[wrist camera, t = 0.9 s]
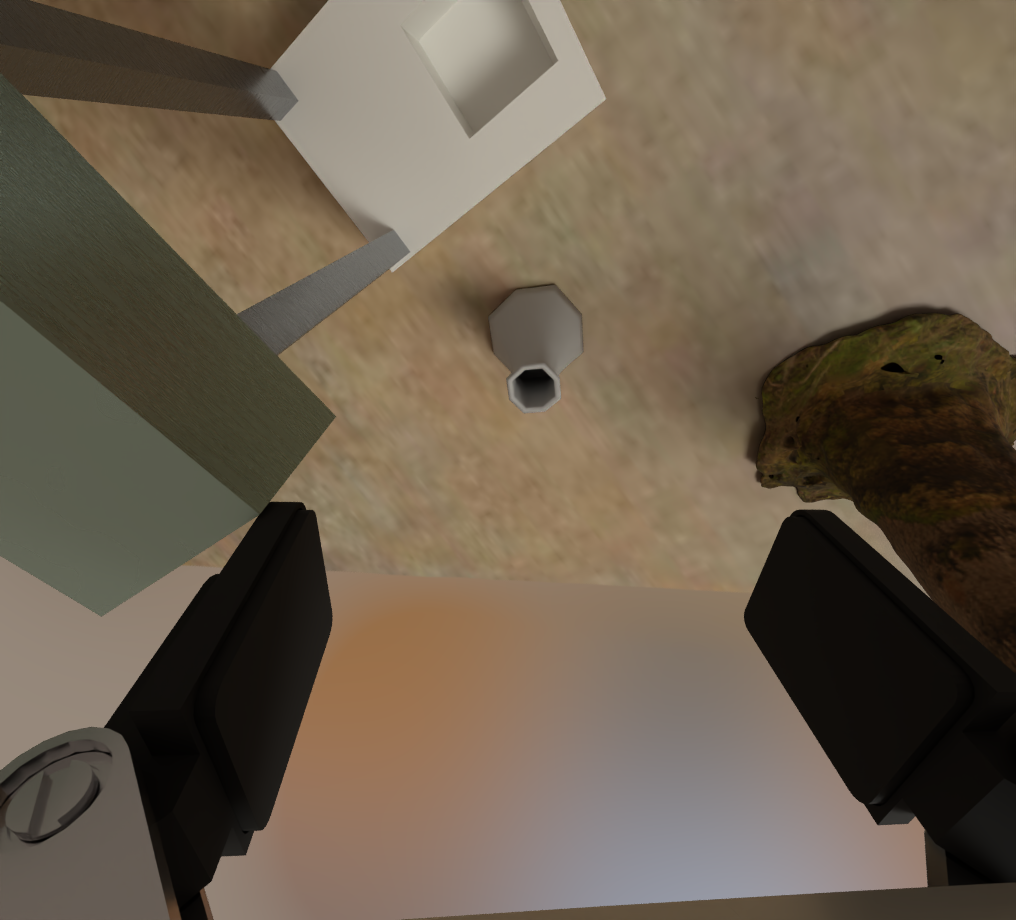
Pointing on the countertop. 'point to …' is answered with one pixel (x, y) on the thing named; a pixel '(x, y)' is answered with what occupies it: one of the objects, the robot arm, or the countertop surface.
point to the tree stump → (912, 454)
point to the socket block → (430, 103)
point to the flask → (536, 344)
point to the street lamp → (134, 328)
